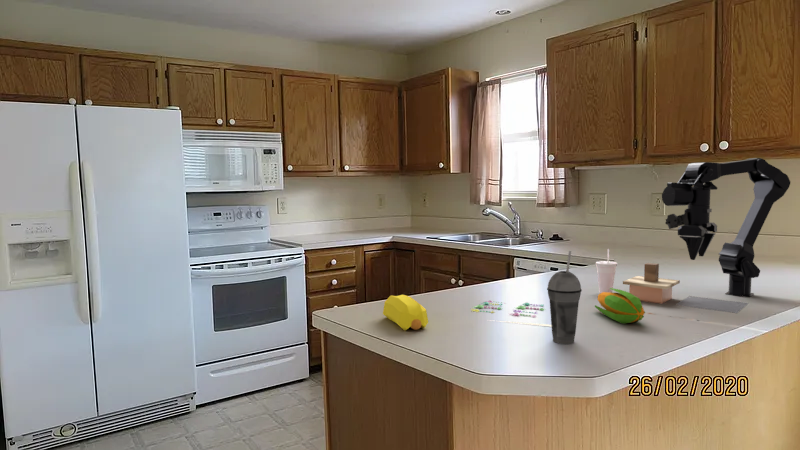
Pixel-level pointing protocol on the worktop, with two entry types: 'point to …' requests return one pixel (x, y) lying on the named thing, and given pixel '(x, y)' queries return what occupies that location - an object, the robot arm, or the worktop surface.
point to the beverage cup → (564, 304)
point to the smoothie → (606, 274)
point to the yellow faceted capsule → (405, 312)
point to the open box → (651, 294)
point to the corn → (621, 306)
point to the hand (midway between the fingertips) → (697, 258)
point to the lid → (651, 278)
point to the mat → (712, 304)
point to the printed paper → (479, 306)
